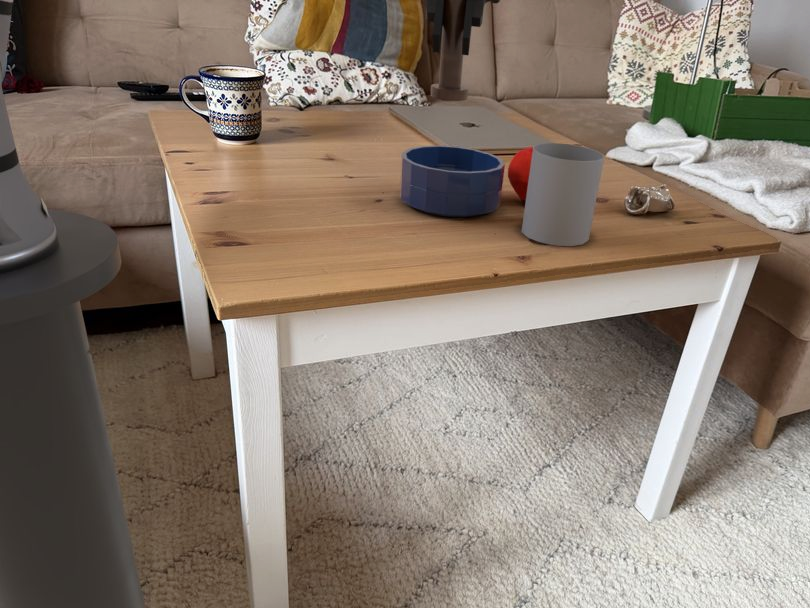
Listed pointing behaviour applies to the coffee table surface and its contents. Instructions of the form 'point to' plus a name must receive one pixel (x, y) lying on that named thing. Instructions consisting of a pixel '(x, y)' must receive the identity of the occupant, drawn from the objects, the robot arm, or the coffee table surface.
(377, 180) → the coffee table surface
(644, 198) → the ornament
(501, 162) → the bowl
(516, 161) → the apple
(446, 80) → the cylinder with round base
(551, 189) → the cup
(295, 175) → the coffee table surface
